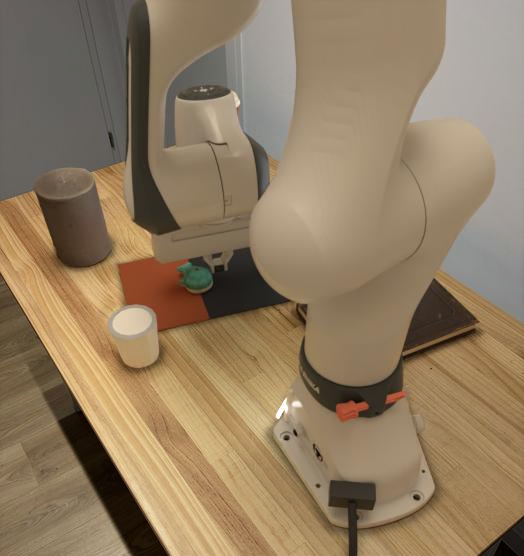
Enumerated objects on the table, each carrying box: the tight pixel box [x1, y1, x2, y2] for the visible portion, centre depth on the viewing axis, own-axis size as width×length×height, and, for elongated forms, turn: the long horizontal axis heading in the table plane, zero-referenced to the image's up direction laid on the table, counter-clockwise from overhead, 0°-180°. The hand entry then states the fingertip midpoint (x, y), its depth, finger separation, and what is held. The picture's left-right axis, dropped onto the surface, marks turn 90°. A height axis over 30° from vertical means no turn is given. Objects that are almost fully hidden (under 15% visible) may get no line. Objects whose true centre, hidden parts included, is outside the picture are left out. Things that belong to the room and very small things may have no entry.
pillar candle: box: [33, 167, 112, 268], centre depth 94 cm, size 10×10×15 cm
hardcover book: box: [295, 277, 480, 361], centre depth 86 cm, size 16×23×2 cm
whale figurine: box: [177, 263, 213, 294], centre depth 92 cm, size 6×7×4 cm
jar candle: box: [107, 305, 160, 369], centre depth 80 cm, size 7×7×7 cm
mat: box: [117, 247, 293, 332], centre depth 94 cm, size 18×28×1 cm, turn 108°
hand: (218, 269), depth 93 cm, fingers closed
